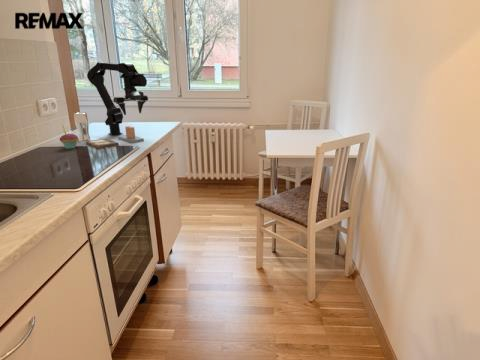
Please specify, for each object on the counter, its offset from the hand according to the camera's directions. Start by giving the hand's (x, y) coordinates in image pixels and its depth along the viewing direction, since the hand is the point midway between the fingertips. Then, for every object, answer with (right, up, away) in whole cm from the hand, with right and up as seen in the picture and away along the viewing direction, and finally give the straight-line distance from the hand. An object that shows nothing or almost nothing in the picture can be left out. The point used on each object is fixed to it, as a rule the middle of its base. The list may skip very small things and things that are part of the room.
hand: (132, 114), depth 192 cm
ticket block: (-11, -20, -16) cm, 28 cm away
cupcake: (-25, -22, -21) cm, 39 cm away
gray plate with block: (+1, -16, -5) cm, 17 cm away
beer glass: (-26, -16, -3) cm, 31 cm away
